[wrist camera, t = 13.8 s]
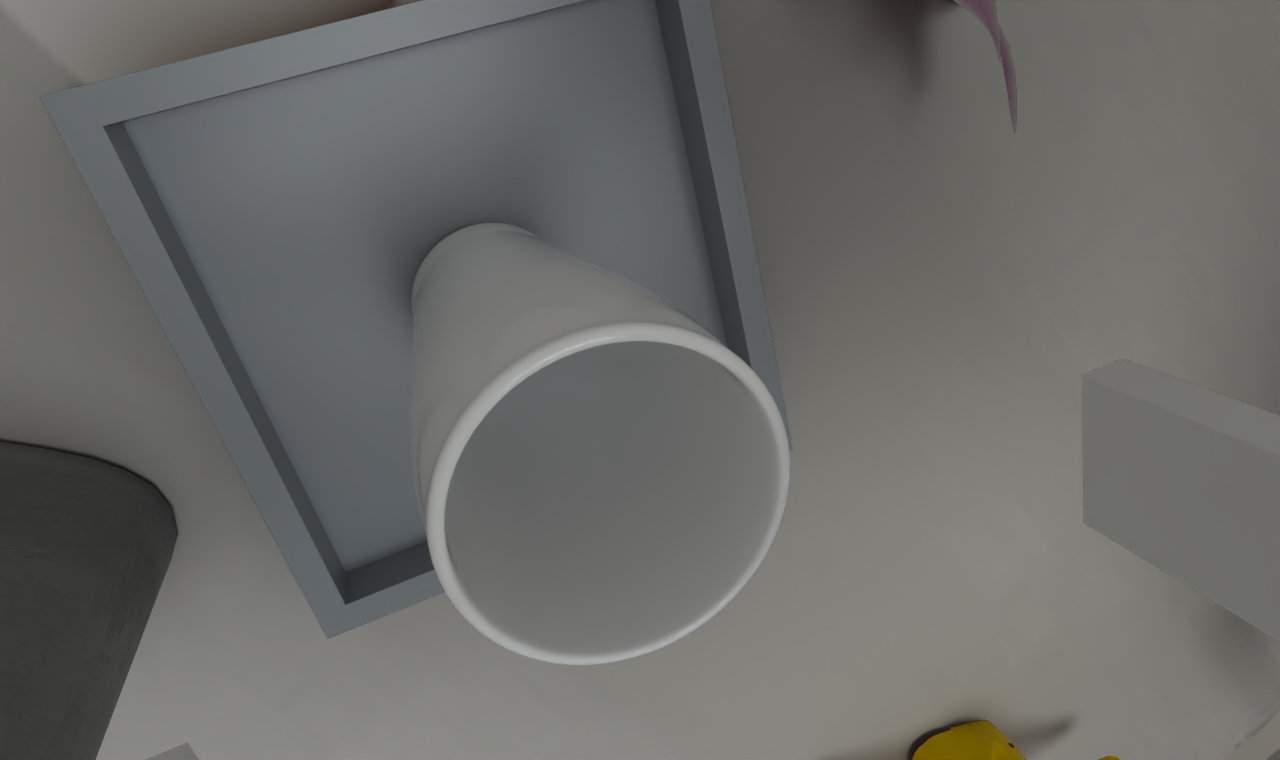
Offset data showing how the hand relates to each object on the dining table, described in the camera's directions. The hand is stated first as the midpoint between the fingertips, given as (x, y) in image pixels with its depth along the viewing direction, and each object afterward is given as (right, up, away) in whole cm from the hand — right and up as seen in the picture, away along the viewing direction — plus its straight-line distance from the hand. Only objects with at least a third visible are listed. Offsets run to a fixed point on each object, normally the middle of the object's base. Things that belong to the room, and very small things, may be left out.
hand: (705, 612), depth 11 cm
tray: (-6, +6, +17) cm, 19 cm away
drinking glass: (-6, +6, +16) cm, 18 cm away
